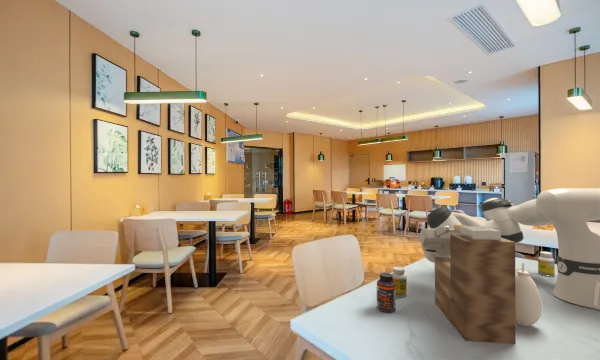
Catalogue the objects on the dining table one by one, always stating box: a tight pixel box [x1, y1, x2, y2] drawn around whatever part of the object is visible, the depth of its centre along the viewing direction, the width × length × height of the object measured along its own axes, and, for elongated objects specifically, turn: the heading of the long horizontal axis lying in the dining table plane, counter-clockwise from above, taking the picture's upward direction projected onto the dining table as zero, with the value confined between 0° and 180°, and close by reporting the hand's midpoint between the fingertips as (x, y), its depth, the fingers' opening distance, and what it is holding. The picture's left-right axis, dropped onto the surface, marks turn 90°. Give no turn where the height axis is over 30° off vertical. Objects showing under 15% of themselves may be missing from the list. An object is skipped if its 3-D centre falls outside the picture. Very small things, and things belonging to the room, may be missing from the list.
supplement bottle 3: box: [537, 251, 556, 277], centre depth 120 cm, size 5×5×10 cm
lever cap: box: [454, 225, 501, 241], centre depth 79 cm, size 7×16×2 cm, turn 174°
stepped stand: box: [434, 234, 517, 345], centre depth 80 cm, size 12×21×26 cm, turn 174°
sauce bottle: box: [515, 262, 543, 327], centre depth 79 cm, size 8×8×18 cm
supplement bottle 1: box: [376, 272, 397, 314], centre depth 88 cm, size 6×6×11 cm
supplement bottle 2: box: [391, 266, 408, 298], centre depth 100 cm, size 5×5×10 cm
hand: (462, 228), depth 84 cm, fingers open, 8 cm apart
